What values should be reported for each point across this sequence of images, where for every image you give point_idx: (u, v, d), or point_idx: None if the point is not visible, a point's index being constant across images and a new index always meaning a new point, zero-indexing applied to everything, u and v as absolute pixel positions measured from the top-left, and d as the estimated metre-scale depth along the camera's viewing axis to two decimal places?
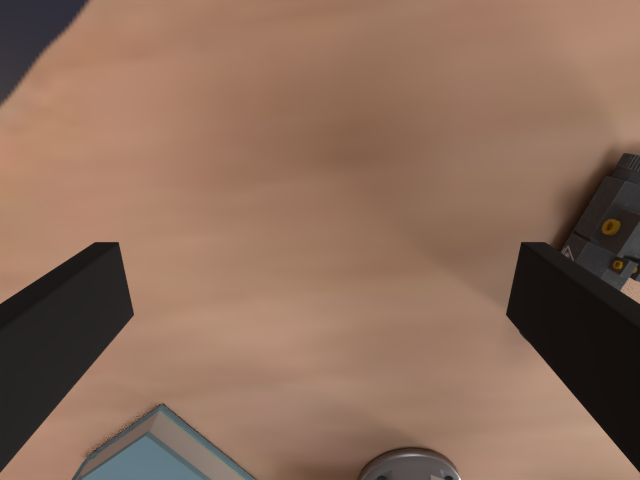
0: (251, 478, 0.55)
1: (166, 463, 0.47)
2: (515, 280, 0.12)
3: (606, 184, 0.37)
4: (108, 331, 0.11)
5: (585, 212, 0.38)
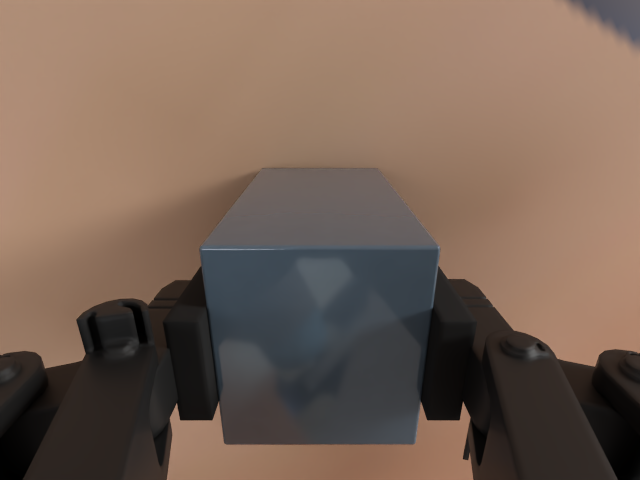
0: None
1: None
2: None
3: None
4: None
5: None
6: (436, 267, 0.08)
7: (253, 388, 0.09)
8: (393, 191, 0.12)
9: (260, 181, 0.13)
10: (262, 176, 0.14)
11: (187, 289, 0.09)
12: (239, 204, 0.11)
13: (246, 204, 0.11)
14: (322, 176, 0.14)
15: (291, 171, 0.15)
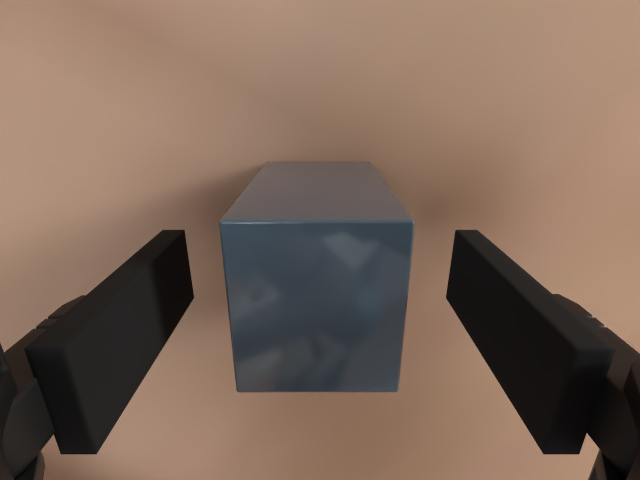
0: None
1: None
2: (452, 265, 0.13)
3: None
4: (178, 310, 0.12)
5: None
6: (411, 237, 0.10)
7: (261, 341, 0.11)
8: (381, 180, 0.14)
9: (265, 172, 0.15)
10: (266, 168, 0.16)
11: (73, 308, 0.08)
12: (248, 190, 0.12)
13: (255, 190, 0.12)
14: (320, 168, 0.16)
15: (292, 164, 0.17)
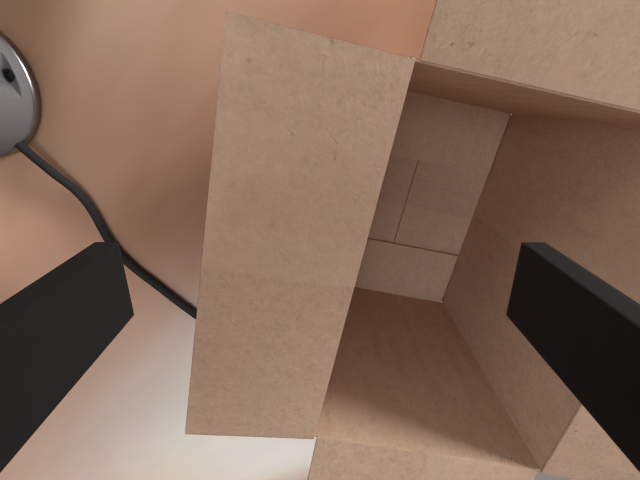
0: None
1: None
2: (514, 280, 0.12)
3: None
4: (108, 331, 0.11)
5: None
6: None
7: None
8: None
9: None
10: None
11: None
12: None
13: None
14: None
15: None
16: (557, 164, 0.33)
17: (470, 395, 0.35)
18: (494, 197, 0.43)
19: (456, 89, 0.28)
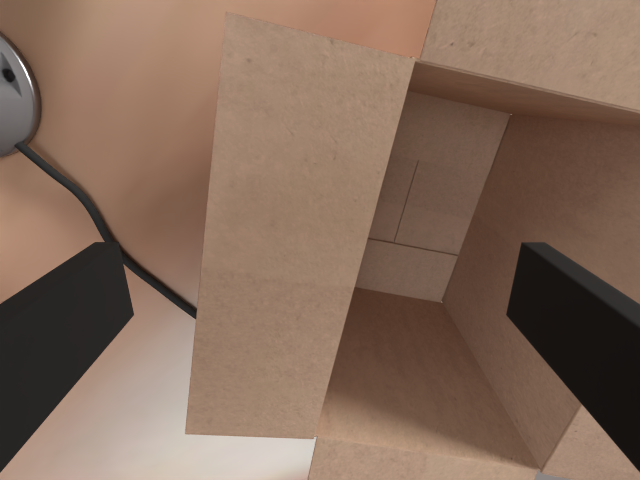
0: None
1: None
2: (514, 280, 0.12)
3: None
4: (108, 331, 0.11)
5: None
6: None
7: None
8: None
9: None
10: None
11: None
12: None
13: None
14: None
15: None
16: (557, 164, 0.33)
17: (470, 395, 0.35)
18: (494, 197, 0.43)
19: (456, 89, 0.28)
